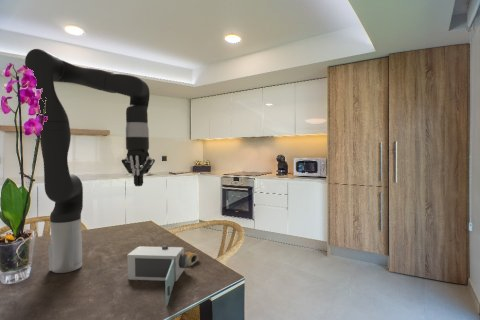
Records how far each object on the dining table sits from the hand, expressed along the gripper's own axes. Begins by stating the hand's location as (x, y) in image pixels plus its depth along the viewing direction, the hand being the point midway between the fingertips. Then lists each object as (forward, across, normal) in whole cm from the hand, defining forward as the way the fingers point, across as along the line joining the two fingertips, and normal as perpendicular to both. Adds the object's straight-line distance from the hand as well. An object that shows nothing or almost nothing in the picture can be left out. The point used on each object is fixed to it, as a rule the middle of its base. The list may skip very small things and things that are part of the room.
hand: (138, 185), depth 100 cm
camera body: (+29, -9, +3) cm, 30 cm away
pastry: (+30, -12, -10) cm, 34 cm away
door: (+28, -21, +12) cm, 37 cm away
